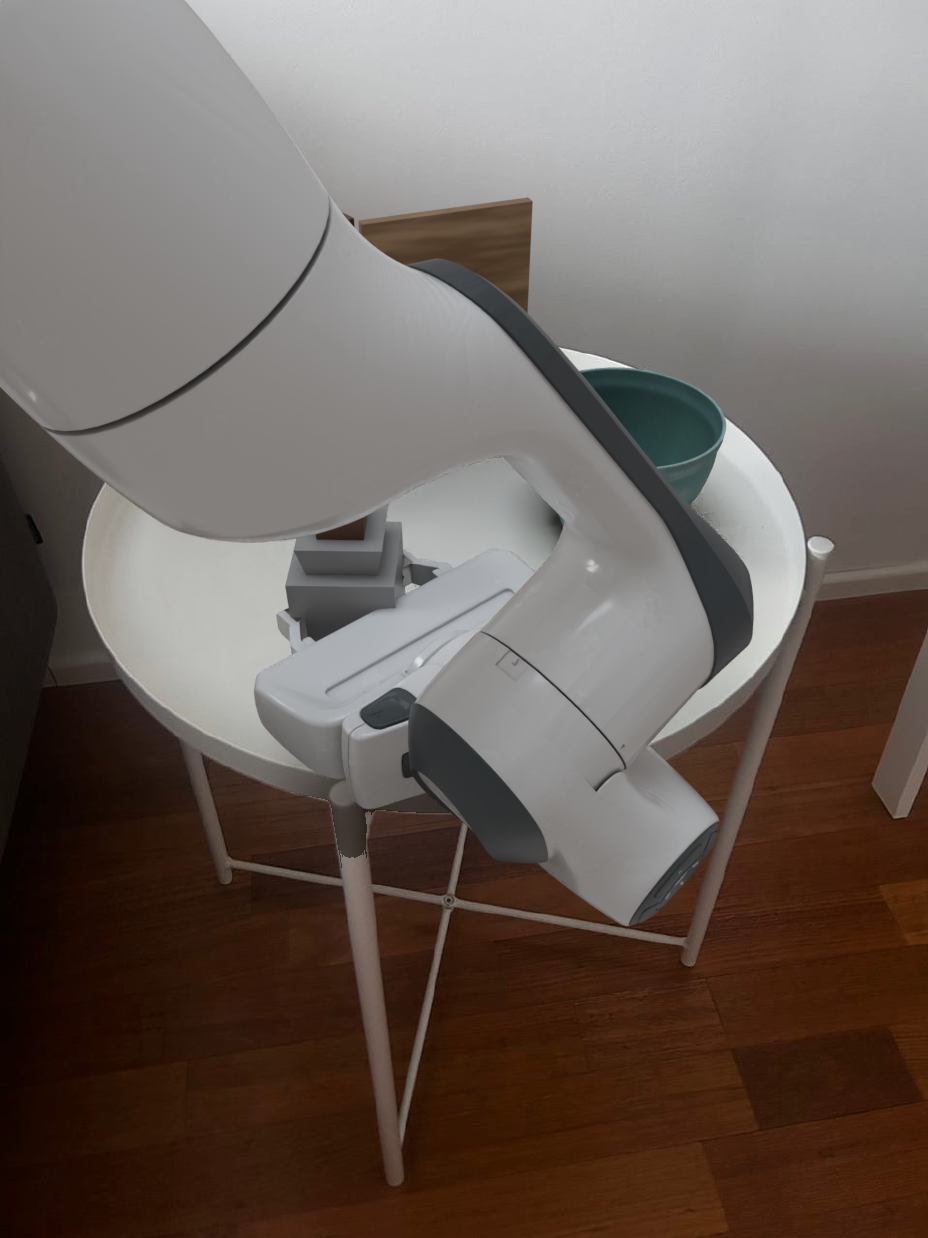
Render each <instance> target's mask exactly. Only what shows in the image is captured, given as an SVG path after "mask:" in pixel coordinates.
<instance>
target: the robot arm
mask: <svg viewBox="0 0 928 1238" xmlns="http://www.w3.org/2000/svg"><path fill="white" fill-rule="evenodd" d="M342 212H343V211H342V210H340V207H339V206H338V205H337V204H336V202H335V201H334V199H333V198H332V196H331V195H330V193H329V192H328V190H327V189H326V187H325V186H324V184H323V182H322V181H321V179H320V178H319V177H318V176H317V173H316V172H315V171H314V169H313V168H312V166H311V165H310V163H309V161H308V160H307V158H306V157H305V156H304V154H303V152H302V151H301V150H300V148H299V147H298V145H297V143H296V142H295V140H294V139H293V138H292V136H291V134H290V133H289V132H288V130H287V129H286V128H285V126H284V125H283V124H282V122H281V121H280V119H279V118H278V117H277V115H276V114H275V113H274V111H273V109H272V108H271V107H270V105H269V104H268V103H267V102H266V100H265V99H264V97H263V96H262V94H261V93H260V92H259V90H258V89H257V88H256V86H255V85H254V83H253V82H252V81H251V80H250V78H249V77H248V76H247V75H246V73H245V72H244V71H243V69H242V68H241V67H240V66H239V65H238V63H237V62H236V61H235V59H234V58H233V57H232V56H231V54H230V53H229V52H228V51H227V49H226V48H225V47H224V45H223V44H222V43H221V42H220V40H219V39H218V38H217V36H215V34H214V33H213V31H212V30H211V29H210V28H209V26H207V24H206V23H205V22H204V21H203V20H202V18H201V17H200V16H199V15H198V14H197V13H196V11H195V10H194V9H193V7H191V5H190V4H189V3H188V2H187V1H186V0H0V388H1V389H2V390H3V391H4V392H5V394H7V396H8V397H9V398H11V399H12V401H14V402H15V403H16V404H17V405H18V406H19V407H20V408H21V409H22V410H23V411H24V412H25V413H26V414H27V415H28V416H29V417H30V418H31V419H32V420H33V421H34V422H36V423H37V424H38V426H40V428H41V429H42V430H44V432H46V433H47V434H48V435H49V436H50V437H51V438H52V439H54V440H55V442H57V443H58V444H59V445H61V447H62V448H64V449H65V450H66V451H67V452H68V453H69V454H70V455H71V456H72V457H74V458H75V459H76V460H77V461H78V462H80V463H81V464H82V465H83V466H84V467H85V468H86V469H88V470H89V471H90V472H91V473H93V475H95V476H96V477H97V478H99V479H100V480H101V481H103V482H104V483H105V484H106V485H107V486H109V487H110V488H111V489H112V490H114V491H115V492H116V493H118V494H119V495H120V496H121V497H123V498H125V499H126V500H127V501H129V502H130V503H132V504H133V505H134V506H136V507H137V508H138V509H140V510H141V511H143V512H144V513H146V514H147V515H149V516H150V517H151V518H153V519H155V520H156V521H157V522H159V523H161V524H162V525H164V526H166V527H168V528H169V529H172V530H174V531H176V532H179V533H183V534H185V535H189V536H193V537H196V538H197V537H198V538H201V539H206V540H212V541H217V542H227V543H228V542H230V543H239V544H241V543H244V544H253V543H255V544H257V543H270V542H281V541H289V540H296V538H302V537H306V536H311V535H315V534H319V533H322V532H326V531H329V530H332V529H335V528H338V527H341V526H344V525H346V524H349V523H351V522H354V521H356V520H359V519H361V518H363V517H365V516H367V515H369V514H371V513H373V512H375V511H377V510H378V509H380V508H382V507H384V506H385V505H387V504H388V505H389V504H390V503H392V502H395V501H396V500H398V499H400V498H401V497H403V496H405V495H406V494H408V493H410V492H413V491H414V490H415V489H418V488H420V487H421V486H424V485H426V484H428V483H430V482H431V481H434V480H436V479H438V478H441V477H442V476H445V475H447V474H450V473H452V472H454V471H457V470H460V469H462V468H465V467H468V466H471V465H474V464H476V463H479V462H483V461H486V460H490V459H494V458H498V457H502V458H503V460H505V462H506V463H507V464H508V465H509V466H510V467H511V468H512V469H513V470H514V471H515V472H516V473H517V474H518V475H519V476H520V477H521V478H522V479H523V480H524V481H525V482H526V483H527V484H528V485H529V486H530V487H531V488H532V489H533V490H534V491H535V492H536V493H537V494H538V495H539V496H540V497H541V499H543V500H544V501H545V502H546V503H547V504H548V505H549V506H550V507H551V509H552V510H553V511H555V513H556V514H558V516H559V515H560V516H561V517H562V518H563V519H564V526H563V525H562V530H561V533H560V535H559V538H558V540H557V542H556V543H555V546H554V547H553V549H552V551H551V552H550V554H549V555H548V557H547V558H546V559H545V561H544V562H543V563H542V565H540V566H539V568H538V569H537V570H536V571H535V570H534V568H532V566H530V565H529V564H528V563H527V562H525V560H523V559H522V558H520V557H519V556H518V555H517V554H516V553H514V552H512V551H511V550H507V549H501V548H500V549H499V548H490V549H487V550H485V551H484V552H482V553H480V554H478V555H476V556H474V557H473V558H471V559H469V560H467V561H465V562H463V563H461V564H459V565H457V566H456V567H453V566H452V565H450V564H449V563H448V562H442V561H437V560H431V559H425V558H418V557H417V556H415V555H414V554H412V552H410V551H409V550H407V549H405V548H403V561H402V576H403V577H402V582H403V587H405V588H406V587H407V586H409V585H411V584H413V585H416V586H418V587H416V588H414V589H412V590H410V591H408V592H407V593H405V595H403V596H401V597H399V598H397V600H396V607H395V608H387V609H377V610H375V611H373V612H371V613H369V614H367V615H365V616H363V617H362V618H360V619H358V620H356V621H354V622H352V623H350V624H348V625H347V626H345V627H343V628H341V629H339V630H337V631H335V632H333V633H332V634H330V635H328V636H326V637H324V638H322V639H320V640H318V641H317V642H315V641H314V640H313V639H312V638H311V637H308V636H307V628H306V621H305V618H291V617H290V613H289V607H287V608H286V609H283V610H281V611H278V612H277V613H276V614H275V616H276V617H275V618H276V624H277V628H278V630H279V633H280V634H281V635H282V636H283V637H284V638H285V639H286V640H287V641H288V642H289V646H290V647H289V648H290V652H291V654H290V655H289V656H287V657H285V658H283V659H281V660H279V661H277V662H275V663H273V664H271V665H270V666H267V667H266V668H264V669H262V670H260V671H259V672H258V673H257V675H256V677H255V681H254V686H253V687H254V688H253V697H254V704H255V708H256V712H257V715H258V718H259V720H260V723H261V724H262V726H263V727H264V729H265V730H266V731H267V732H268V733H269V734H270V735H271V737H272V738H273V739H274V740H275V741H277V742H278V743H279V744H280V745H281V746H282V747H283V748H285V750H286V751H287V752H288V753H290V754H291V755H292V756H293V757H294V758H296V759H297V760H298V761H299V762H300V763H302V765H304V766H306V767H307V768H308V769H310V770H311V771H313V772H314V773H316V774H318V775H320V776H322V777H325V778H328V779H332V780H345V782H346V785H347V789H348V791H349V795H350V796H351V798H352V800H353V801H354V802H355V803H356V804H357V805H358V806H359V807H360V808H362V809H365V810H374V809H378V808H382V807H385V806H389V805H392V804H394V803H397V802H400V801H404V800H407V799H411V798H414V797H417V796H420V795H424V794H425V795H426V794H427V795H428V797H430V798H431V799H432V800H433V801H435V803H437V805H440V806H441V807H442V808H443V809H444V810H446V811H448V812H449V813H450V814H451V815H453V817H455V818H457V819H458V820H459V821H460V822H461V823H463V824H464V825H465V826H466V827H468V828H469V829H470V831H472V833H474V834H475V836H476V838H477V839H478V841H479V842H480V844H481V845H482V847H483V848H484V850H485V851H486V852H487V853H488V855H489V856H490V857H491V858H492V859H494V860H495V861H497V862H500V863H501V862H502V863H510V864H511V863H512V864H513V863H514V864H526V865H527V864H529V865H531V864H537V865H538V866H540V867H541V868H542V869H543V870H544V871H545V872H546V873H548V874H549V875H550V876H552V877H554V879H555V880H556V881H558V882H559V883H560V884H562V885H563V886H565V887H566V888H567V889H568V890H570V891H571V892H572V893H573V894H575V895H576V896H578V897H579V898H581V899H582V900H583V901H585V902H586V903H588V904H589V905H590V906H591V907H593V908H594V909H596V910H597V911H599V912H601V913H602V914H604V915H605V916H606V917H608V918H610V919H611V920H613V921H614V922H616V923H617V924H620V925H621V926H625V927H631V926H634V925H637V924H641V923H644V922H645V921H647V920H648V919H650V918H652V917H653V916H655V915H657V913H658V912H659V911H660V910H661V908H663V907H664V906H665V905H667V904H668V903H669V902H670V901H671V900H672V898H673V897H675V895H676V894H677V892H678V891H679V890H680V889H681V888H682V887H683V886H684V885H685V884H686V883H687V881H688V880H689V879H690V878H691V877H692V876H693V875H694V873H695V872H696V871H697V870H698V869H699V867H700V865H701V864H702V862H703V861H704V860H705V859H706V858H707V856H708V855H709V853H710V851H711V850H712V848H713V847H714V844H715V841H716V839H717V838H718V830H719V826H720V818H719V816H718V814H717V813H716V812H715V811H714V809H713V808H712V807H711V806H710V805H709V804H708V802H707V801H706V800H705V799H704V797H702V796H701V794H700V793H698V791H697V790H696V789H695V788H694V787H693V786H692V785H691V784H690V783H689V782H688V781H687V780H686V779H685V778H684V777H683V776H682V775H681V774H680V773H679V772H678V771H677V770H676V769H675V768H674V767H673V766H672V765H671V764H669V762H667V761H666V759H665V758H663V757H662V756H661V755H660V754H659V753H657V751H655V749H653V748H652V747H651V746H650V744H651V743H652V741H654V739H655V738H656V737H657V736H658V735H659V734H660V732H661V731H662V730H663V729H665V727H666V726H667V725H668V724H669V723H670V722H671V720H673V718H674V717H675V716H676V715H677V714H678V712H680V711H681V709H682V708H683V707H684V706H685V705H686V704H687V703H688V701H689V700H690V699H691V698H692V697H693V696H695V694H696V693H697V692H698V691H699V690H701V689H702V688H705V686H707V685H709V683H710V682H711V681H713V679H714V678H716V676H718V674H720V672H722V671H723V670H724V669H725V668H726V667H727V666H728V665H729V664H730V663H732V662H733V660H735V659H736V658H737V657H738V656H739V655H740V654H741V653H742V652H743V651H745V649H747V647H748V646H750V644H751V642H752V639H753V636H754V623H755V622H754V619H755V618H754V617H755V611H754V610H755V607H754V604H755V603H754V591H753V584H752V579H751V578H752V577H751V574H750V571H749V568H748V567H747V565H746V563H745V562H744V560H743V559H742V558H741V556H739V554H738V553H737V551H735V549H734V548H733V547H732V546H731V545H730V544H729V542H728V541H726V540H725V538H724V537H722V536H721V534H719V533H718V532H717V531H716V530H715V529H714V528H713V526H711V525H710V524H709V522H707V521H706V520H705V519H704V518H703V517H702V516H701V515H700V514H699V513H698V512H697V511H696V510H695V509H693V507H691V505H690V506H689V505H688V504H687V503H686V502H685V501H684V500H683V499H682V498H681V497H680V496H679V494H678V493H677V492H676V491H675V490H674V489H673V487H672V486H671V485H670V484H669V482H668V481H667V480H666V479H665V478H664V476H663V475H662V474H661V473H660V471H659V470H658V469H657V468H656V466H655V465H654V464H653V463H652V461H651V460H650V459H649V458H648V456H647V455H646V454H645V453H644V451H643V450H642V449H641V448H640V446H639V445H638V444H637V442H636V441H635V440H634V439H633V437H632V436H631V435H630V434H629V432H628V431H627V430H626V429H625V427H624V426H623V425H622V424H621V422H620V421H619V420H618V419H617V417H616V416H615V415H614V414H613V412H612V411H611V410H610V408H609V407H608V406H607V405H606V403H605V402H604V401H603V400H602V398H601V397H600V396H599V395H598V393H597V392H596V391H595V390H594V388H593V387H592V386H591V385H590V384H589V382H588V381H587V380H586V379H585V378H584V376H583V375H582V374H581V373H580V371H581V370H579V369H578V368H577V367H576V365H575V364H574V363H573V362H572V360H571V359H570V358H569V357H568V356H567V355H566V354H565V353H564V351H563V350H562V349H561V348H560V347H559V345H557V343H556V342H555V341H554V340H553V339H552V338H551V337H550V335H549V334H547V332H546V331H545V330H544V329H543V328H542V327H541V325H539V324H538V322H537V321H536V320H535V319H534V318H533V317H532V316H531V315H530V314H529V312H528V313H527V312H526V311H525V310H524V309H523V308H522V307H521V306H519V305H518V304H517V303H516V302H515V301H514V300H513V299H512V298H510V297H509V296H508V295H507V294H505V293H504V292H503V291H502V290H500V289H499V288H498V287H496V286H495V285H494V284H492V283H491V282H489V281H488V280H486V279H485V278H483V277H482V276H480V275H478V274H476V273H474V272H473V271H471V270H469V269H467V268H465V267H463V266H461V265H459V264H457V263H454V262H451V261H448V260H445V259H439V258H436V259H431V260H427V261H422V262H417V263H413V264H408V265H403V264H401V263H399V262H397V261H395V260H394V259H392V258H390V257H389V256H387V255H386V254H384V253H383V252H381V251H380V250H378V249H377V248H376V247H375V246H373V245H372V244H371V243H370V242H369V241H367V240H366V239H365V238H364V237H363V236H362V235H361V234H360V233H359V230H357V228H356V227H355V228H354V227H353V225H352V224H351V223H350V222H349V221H348V220H347V219H346V217H345V216H344V215H343V213H344V212H343V213H342Z"/></svg>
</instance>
